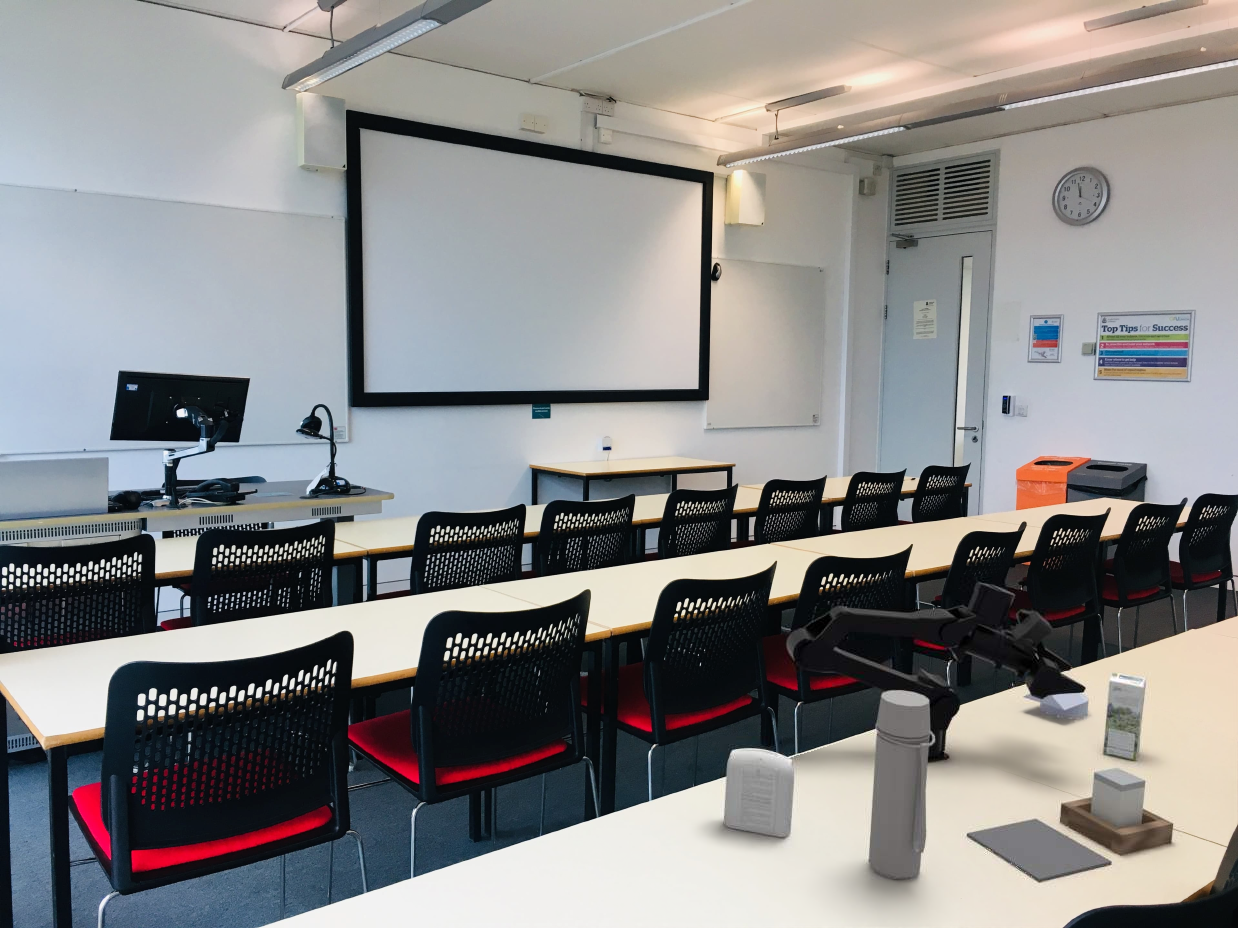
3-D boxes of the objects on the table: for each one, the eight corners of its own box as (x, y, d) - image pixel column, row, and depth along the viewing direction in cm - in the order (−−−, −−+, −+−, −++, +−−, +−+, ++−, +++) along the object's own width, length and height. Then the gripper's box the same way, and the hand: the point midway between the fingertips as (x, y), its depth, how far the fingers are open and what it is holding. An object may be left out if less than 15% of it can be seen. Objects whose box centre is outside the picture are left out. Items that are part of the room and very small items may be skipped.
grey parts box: (1116, 842, 149) (1122, 785, 148) (1089, 827, 154) (1094, 771, 153) (1140, 836, 151) (1145, 780, 150) (1112, 822, 156) (1117, 767, 155)
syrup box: (1139, 751, 185) (1146, 676, 183) (1136, 762, 180) (1143, 685, 178) (1106, 744, 188) (1112, 670, 186) (1102, 754, 183) (1108, 678, 181)
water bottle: (855, 861, 141) (865, 692, 138) (899, 851, 144) (910, 686, 141) (897, 894, 132) (909, 714, 130) (943, 883, 136) (955, 708, 133)
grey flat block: (793, 827, 150) (797, 749, 149) (789, 840, 146) (793, 760, 145) (726, 816, 153) (730, 740, 152) (721, 828, 149) (724, 750, 148)
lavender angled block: (1063, 726, 197) (1095, 713, 205) (1065, 693, 196) (1098, 681, 204) (1021, 712, 204) (1054, 700, 212) (1023, 680, 203) (1056, 670, 211)
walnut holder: (1119, 854, 145) (1121, 835, 145) (1059, 821, 155) (1061, 803, 155) (1171, 842, 150) (1173, 823, 149) (1109, 810, 160) (1111, 792, 159)
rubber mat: (1039, 881, 137) (1039, 878, 137) (966, 835, 150) (966, 832, 150) (1111, 863, 142) (1111, 861, 142) (1035, 820, 155) (1035, 818, 155)
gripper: (1023, 626, 167) (1113, 661, 165) (1001, 589, 185) (1082, 620, 183) (996, 682, 170) (1084, 717, 168) (977, 641, 187) (1056, 671, 186)
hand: (1077, 678), depth 176 cm, fingers open, 9 cm apart
